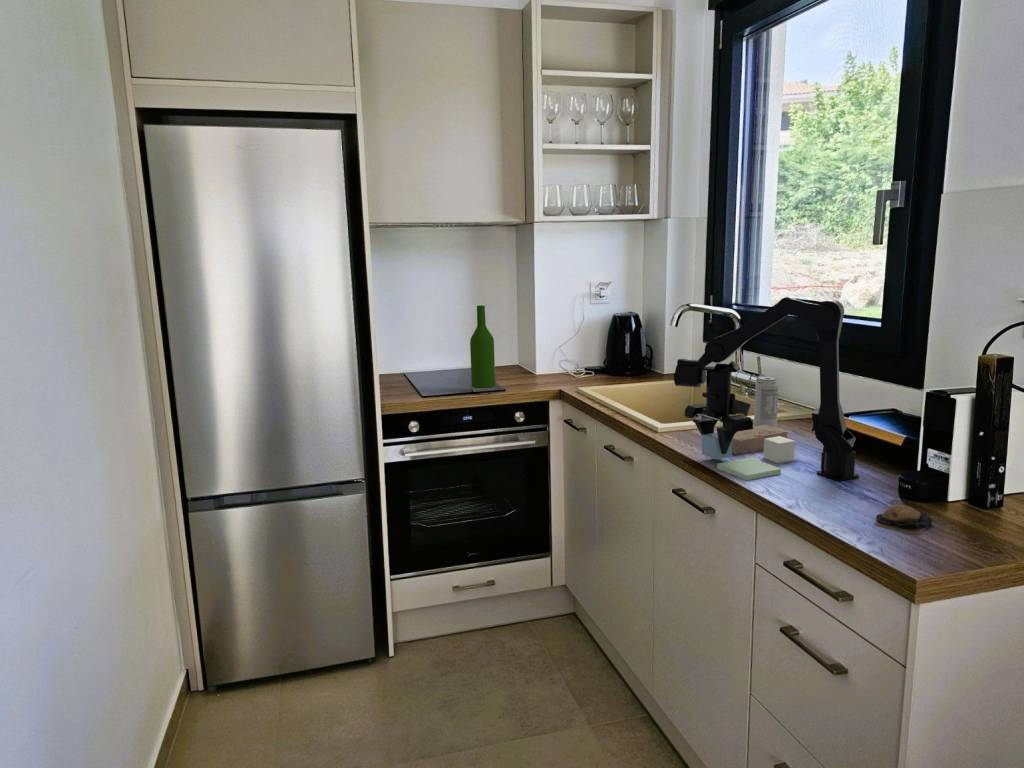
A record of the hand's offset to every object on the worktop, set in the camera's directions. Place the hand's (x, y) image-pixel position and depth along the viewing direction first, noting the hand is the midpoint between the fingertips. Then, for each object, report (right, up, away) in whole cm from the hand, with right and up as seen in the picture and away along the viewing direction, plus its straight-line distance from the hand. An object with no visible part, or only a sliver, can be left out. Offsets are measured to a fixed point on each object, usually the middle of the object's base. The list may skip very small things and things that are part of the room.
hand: (716, 451), depth 173 cm
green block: (+5, -4, -8) cm, 10 cm away
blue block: (0, -1, 0) cm, 1 cm away
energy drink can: (+22, +3, +28) cm, 35 cm away
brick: (+13, 0, +12) cm, 17 cm away
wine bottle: (-61, +13, +92) cm, 111 cm away
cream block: (+15, -2, 0) cm, 15 cm away
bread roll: (+24, -10, -40) cm, 48 cm away
